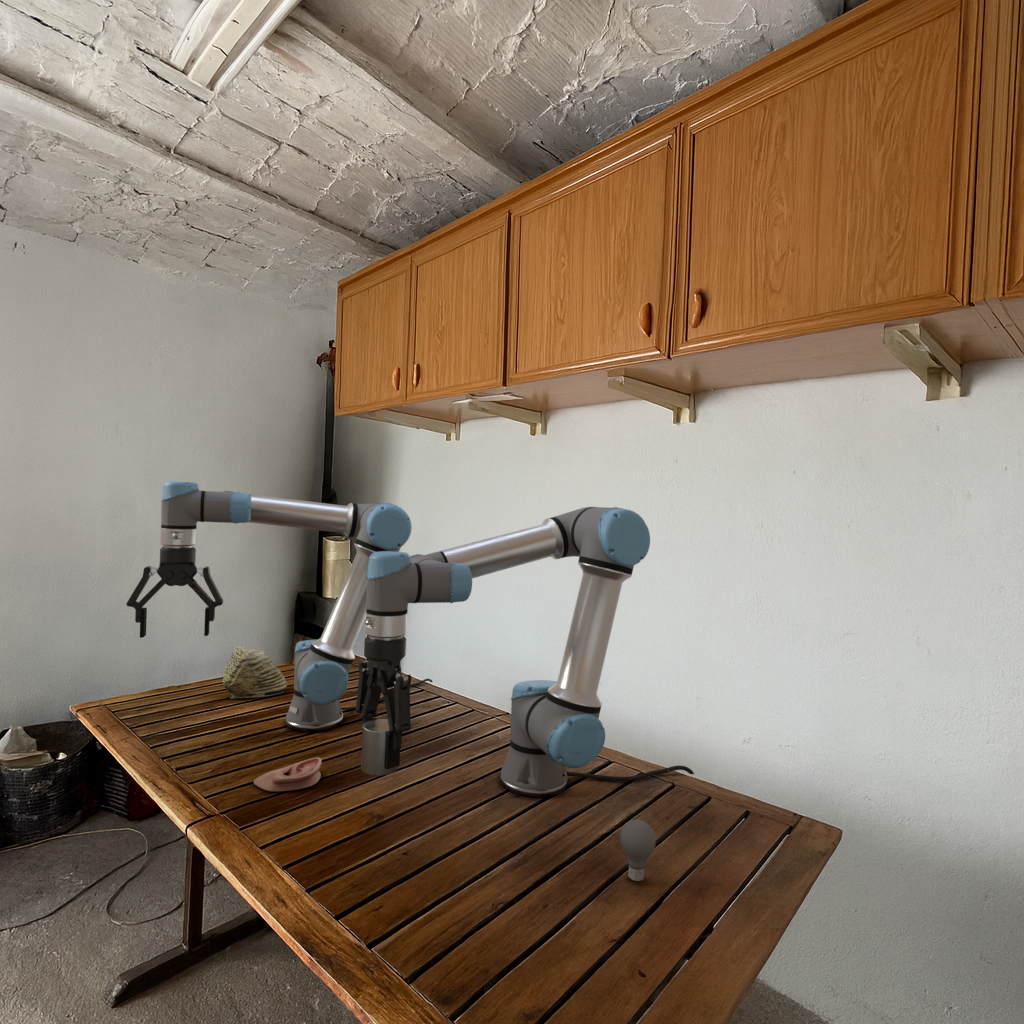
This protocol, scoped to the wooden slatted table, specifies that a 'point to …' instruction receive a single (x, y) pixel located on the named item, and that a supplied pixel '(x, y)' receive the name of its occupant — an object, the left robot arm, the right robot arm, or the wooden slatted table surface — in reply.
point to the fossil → (252, 674)
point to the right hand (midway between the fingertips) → (380, 759)
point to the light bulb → (637, 846)
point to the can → (375, 748)
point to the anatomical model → (291, 776)
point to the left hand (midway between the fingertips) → (175, 635)
